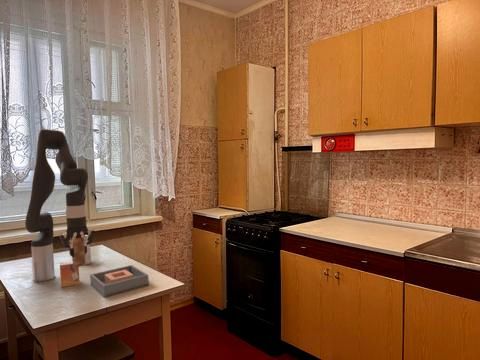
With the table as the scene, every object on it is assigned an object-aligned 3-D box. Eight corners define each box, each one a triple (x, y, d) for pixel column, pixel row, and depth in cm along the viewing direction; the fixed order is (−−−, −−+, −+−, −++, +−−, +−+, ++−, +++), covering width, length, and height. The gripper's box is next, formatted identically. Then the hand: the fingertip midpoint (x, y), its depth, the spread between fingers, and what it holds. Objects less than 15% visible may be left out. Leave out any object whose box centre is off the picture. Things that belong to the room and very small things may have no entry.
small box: (60, 287, 159) (59, 265, 158) (60, 284, 164) (59, 262, 163) (80, 284, 162) (78, 262, 162) (79, 280, 167) (78, 259, 167)
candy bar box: (71, 263, 197) (69, 234, 196) (79, 260, 201) (78, 233, 200) (83, 265, 191) (81, 236, 190) (91, 263, 195) (89, 234, 194)
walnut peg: (75, 267, 144) (73, 239, 143) (72, 265, 147) (71, 237, 146) (85, 265, 146) (83, 237, 145) (82, 263, 149) (81, 236, 148)
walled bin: (104, 297, 146) (103, 286, 145) (90, 284, 161) (90, 274, 161) (148, 285, 158) (148, 274, 158) (132, 274, 174) (131, 264, 173)
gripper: (91, 212, 152) (93, 250, 153) (55, 216, 143) (58, 257, 145) (96, 214, 146) (98, 254, 148) (59, 219, 137) (62, 261, 139)
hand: (78, 255), depth 146 cm, fingers closed on walnut peg, 4 cm apart
